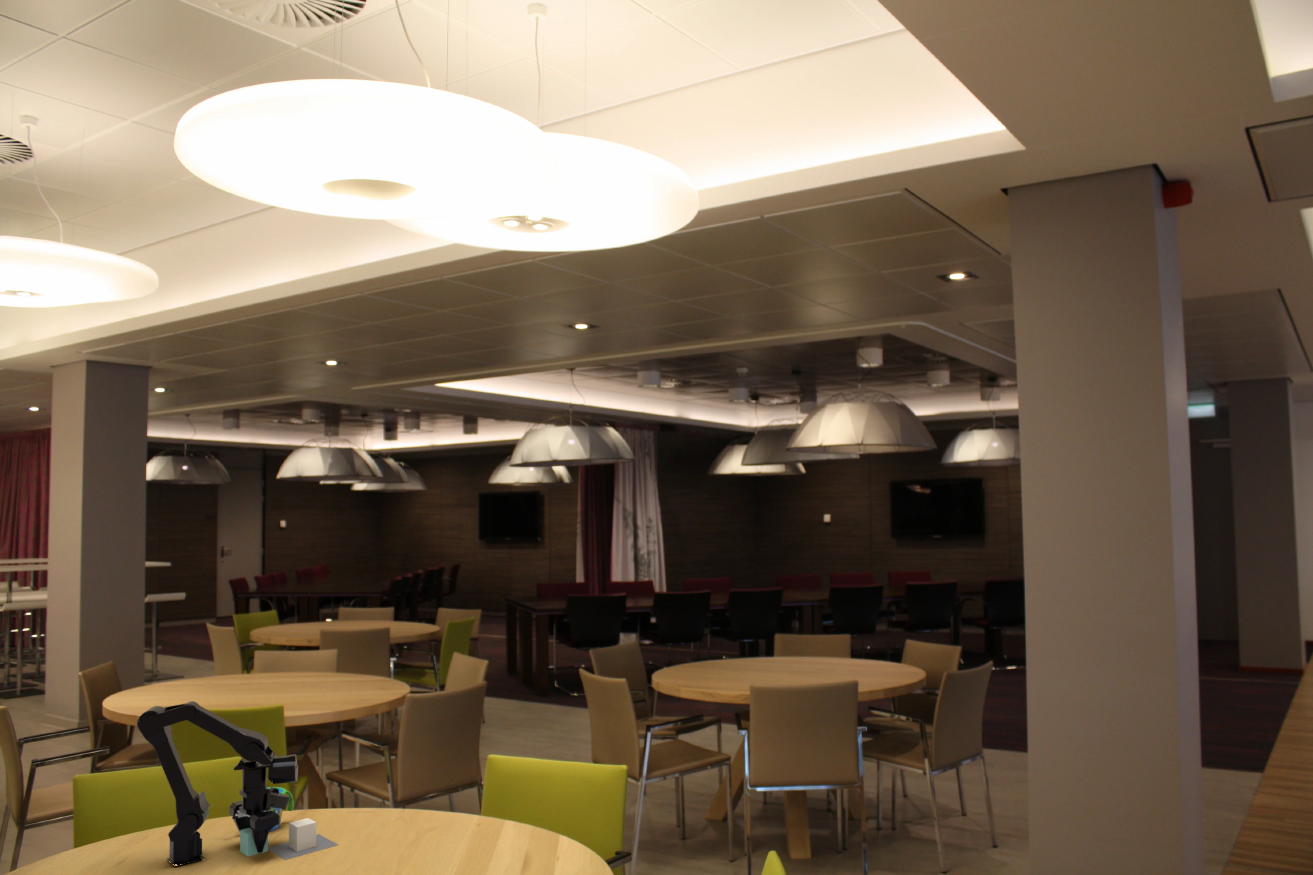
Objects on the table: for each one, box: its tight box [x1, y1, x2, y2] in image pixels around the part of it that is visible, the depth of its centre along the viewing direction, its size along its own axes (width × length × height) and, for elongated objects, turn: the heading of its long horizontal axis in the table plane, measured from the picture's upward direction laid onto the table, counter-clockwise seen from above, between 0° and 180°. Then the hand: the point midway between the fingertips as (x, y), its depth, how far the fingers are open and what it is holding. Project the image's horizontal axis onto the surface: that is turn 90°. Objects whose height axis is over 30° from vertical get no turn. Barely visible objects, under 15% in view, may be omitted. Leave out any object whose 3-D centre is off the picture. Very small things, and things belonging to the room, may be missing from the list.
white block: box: [288, 817, 317, 851], centre depth 241 cm, size 5×5×6 cm
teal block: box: [239, 828, 269, 857], centre depth 239 cm, size 5×5×6 cm
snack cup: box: [240, 786, 295, 832], centre depth 257 cm, size 16×10×10 cm
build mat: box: [268, 833, 339, 861], centre depth 241 cm, size 14×12×1 cm
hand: (253, 848), depth 239 cm, fingers open, 8 cm apart
